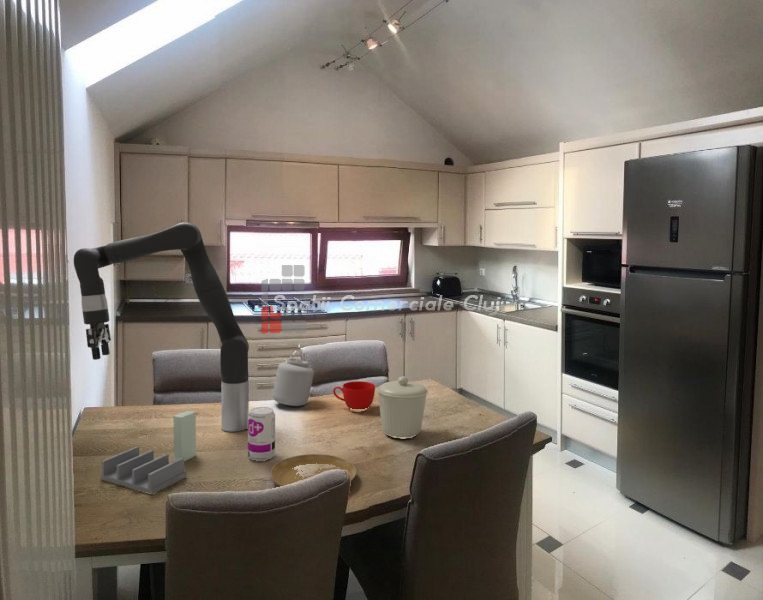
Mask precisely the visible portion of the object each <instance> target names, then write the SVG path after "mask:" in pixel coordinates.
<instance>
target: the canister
mask: <svg viewBox="0 0 763 600" xmlns="http://www.w3.org/2000/svg"><path fill="white" fill-rule="evenodd" d="M376 391H377V392H378V400H379V411H380V412H379V413H380V414H379V415H380V423H381V429H382V431H384V432H385V433H386V434H388V435H391V436H396V437H411V436H414V435H417V434H418V433H419V432H421V430H422V424H423V421H424V420H423V419H424V414H425V407H426V402H427V401H426V399H427V395H428V394H429V389H428V387H426V386H424V385H423V384H421V383H418V382H416V381H415V382H414V381H411V380H410V381H409V378H408V377H407V376H403V375H402V376H399V377H398V379H397V380H390V381H387V382H384V383H382V384H380V385H379V386H377V388H376ZM384 432H383V433H384ZM385 433H384V434H385ZM386 434H385V435H386ZM419 434H420V433H419ZM419 434H418V435H419ZM418 435H417V436H418Z"/></svg>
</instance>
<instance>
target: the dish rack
mask: <svg viewBox="0 0 763 600" xmlns="http://www.w3.org/2000/svg"><path fill="white" fill-rule="evenodd" d="M154 452H155V451H154V449H151V450H148V451H146V452H143V453H141V454H140V446H138V445H137V446H134V447H132V448H129V449H128V450H125V451H123V452H119V453H117V454H115V455H113V456H110V457H107V458H106V459H104V460H101V474H100V481H103V480H105V481H104V482H107V481H108V483H110V482H111V483H110V484H113V483H114V484H115V485H117V484H118V485H117V486H120V485H121V487H123V486H125V487H124V488H127V487H129V488H128V489H130V488H132V489H131V490H133V489H136V490H135V491H137V490H140V491H144V492H148V493H151V494H153V493H155V492H157V491H159V490H161V489H162V490H164V489H166V488H168V487H170V486H172V485H174V484H175V482H176V483H177V482H179V481H181V480H183V479H185V478H186V471H185V461H184V458H180V459H178V460H176V461H174V460H173V462H170V461H169V460H170V457H169V456H170V454H169V453H165V454H163V455H161V456H159V457H157V458H155V453H154ZM173 483H174V484H173ZM171 484H172V485H171ZM169 485H170V486H169ZM167 486H168V487H167ZM165 487H166V488H165ZM163 488H164V489H163ZM162 490H161V491H162ZM140 491H139V492H140ZM159 492H160V491H159ZM157 493H158V492H157ZM155 494H156V493H155ZM153 495H154V494H153Z"/></svg>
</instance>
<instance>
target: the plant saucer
mask: <svg viewBox="0 0 763 600" xmlns="http://www.w3.org/2000/svg"><path fill="white" fill-rule="evenodd" d="M316 463H317V464H329V465H331V464H332V465H335V466H336V467H340V469H345V470H348V471H349V472H350V474H351V482H353V480H354V479H355V476H356V474H357V469H356V466H355V465H354V464H353V463H352V462H350V461H349V460H347V459H345V458H342V457H339V456H336V455H330V454H321V453H320V454H319V453H316V454H315V453H313V454H311V453H310V454H300V455H294V456H290V457H287V458H285V459H282V460H280V461H277V463H275V464H274V465H273V467H271V469H270V477H271V479H272V481H273V482H274V484H275V485H276V486H277V487H278V488H280V486H284V485H287V484H291V483H294V482H297V481H299V480H303V479H306V478H308V477H311V476H313V475H311V476H308V477H306V476H305V477H304V478H303V477H302V476H299V475H300V474H299V473H298V474H297V475H296V473H297V472H298V471H297V470H298V469H297V470H294V467H296V466H299V465H306V464H316ZM292 468H293V469H292ZM330 469H335V468H330ZM330 469H325V468H323V469H321V470H320V468H319V469H317V470H318V472H317V471H316V472H315V474H317V473H320V472H323V471H325V470H330ZM301 471H302V470H301ZM319 471H320V472H319ZM302 472H303V471H302ZM312 474H313V473H312ZM315 474H314V475H315ZM295 477H296V478H295ZM302 478H303V479H302Z"/></svg>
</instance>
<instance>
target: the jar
mask: <svg viewBox="0 0 763 600" xmlns="http://www.w3.org/2000/svg"><path fill="white" fill-rule="evenodd" d="M298 348H300V343H299V344H298ZM301 352H303V351H302V350H301ZM295 353H297V351H296V350H295V351H294V352H293V354H292V355H293V356H294V355H295ZM284 360H286V361H283V362H281V363H279V364H278V366H277V368H276V369H277V370H276V374H275V379H274V385H273V389H272V394H271V395H272V396H271V398H272V399H273V400H274V401H275V402H277V403H279V404H282V405H285V406H291V407H292V406H293V407H303V406H305V405H307V404H308V401H309V399H310V396H311V395H310V394H311V388H312V385H313V379H314V375H315V372H314V371H315V370H314V369H313V368H312V367H310V366H309V364H310V362H308V361H306V360H303V359H299V358H298V359H296V358H291V357H288V358H286V359H285V358H284ZM314 392H316V391H315V390H314ZM312 394H313V392H312ZM311 397H312V396H311ZM302 405H303V406H302Z"/></svg>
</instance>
